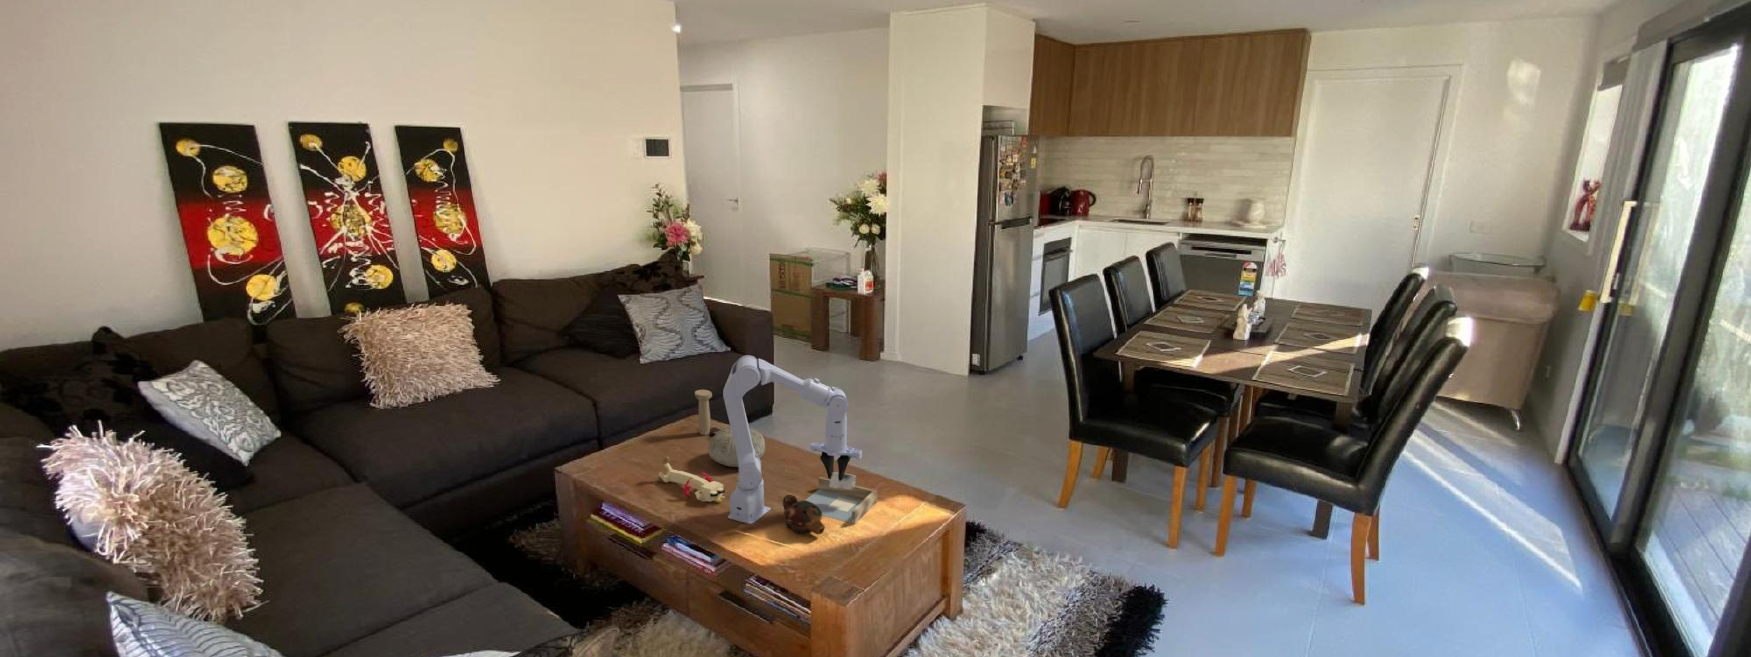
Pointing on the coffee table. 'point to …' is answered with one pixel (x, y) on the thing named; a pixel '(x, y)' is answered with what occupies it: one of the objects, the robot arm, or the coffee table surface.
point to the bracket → (842, 481)
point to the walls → (859, 493)
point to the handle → (704, 410)
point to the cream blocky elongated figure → (693, 483)
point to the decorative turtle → (802, 515)
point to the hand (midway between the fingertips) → (835, 478)
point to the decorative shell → (732, 447)
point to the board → (834, 505)
